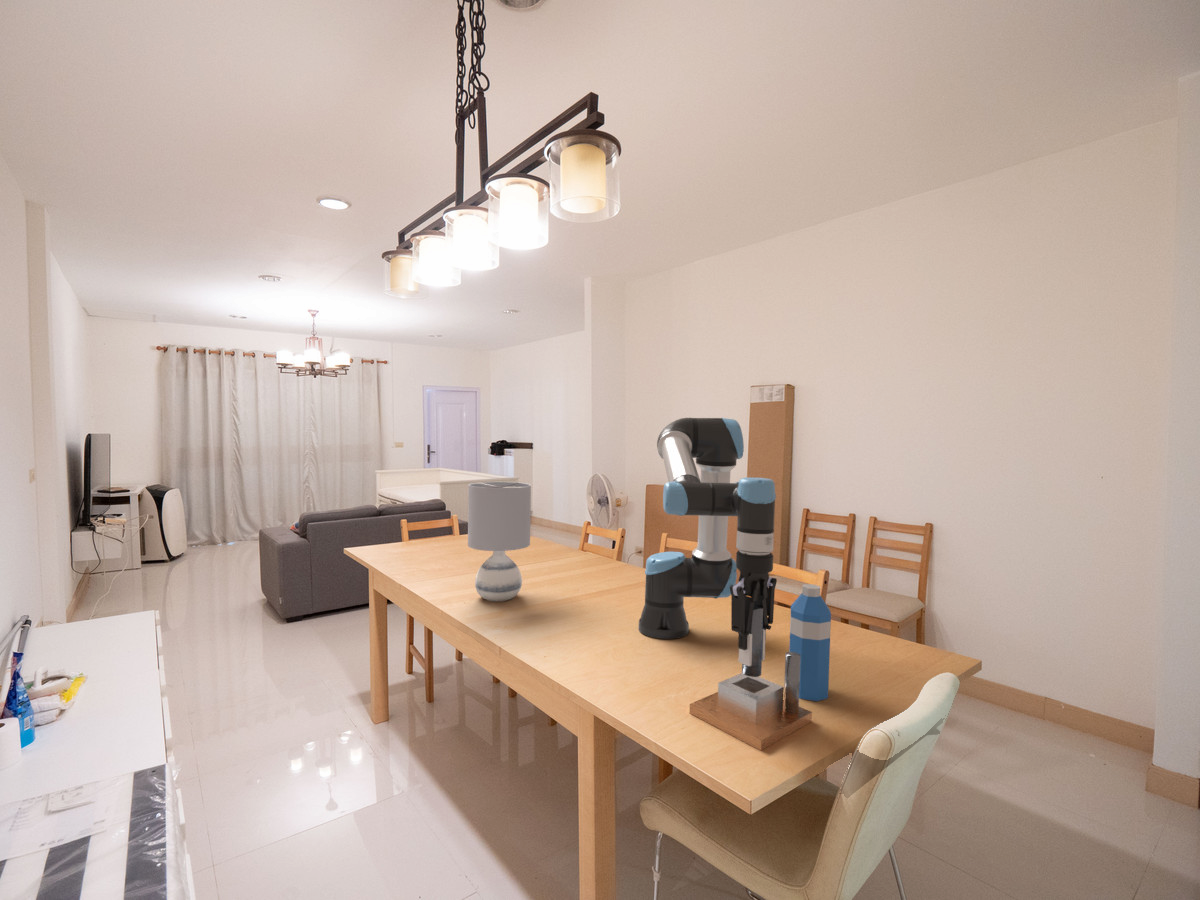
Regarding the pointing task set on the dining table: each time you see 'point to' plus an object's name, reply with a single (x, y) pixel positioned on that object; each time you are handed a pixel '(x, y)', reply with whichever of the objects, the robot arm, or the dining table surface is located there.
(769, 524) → the robot arm
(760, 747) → the peg insertion fixture
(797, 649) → the water bottle
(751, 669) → the square metal peg
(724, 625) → the dining table surface
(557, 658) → the dining table surface
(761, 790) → the dining table surface
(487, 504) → the lamp
